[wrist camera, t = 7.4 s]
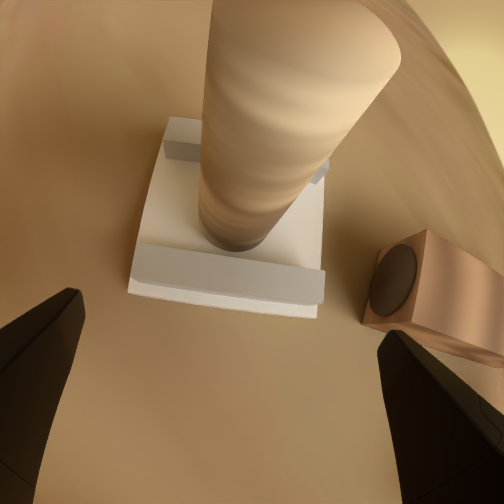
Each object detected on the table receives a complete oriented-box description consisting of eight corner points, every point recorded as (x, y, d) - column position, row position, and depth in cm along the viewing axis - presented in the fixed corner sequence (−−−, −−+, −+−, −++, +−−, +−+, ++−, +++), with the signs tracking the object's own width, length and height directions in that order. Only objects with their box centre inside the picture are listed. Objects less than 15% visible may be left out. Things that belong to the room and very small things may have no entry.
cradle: (308, 318, 17) (331, 317, 14) (132, 294, 16) (117, 287, 13) (317, 164, 20) (336, 139, 17) (167, 137, 18) (164, 107, 15)
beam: (505, 314, 20) (546, 308, 16) (496, 368, 19) (538, 368, 14) (375, 248, 19) (423, 226, 14) (357, 323, 18) (406, 320, 13)
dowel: (282, 203, 17) (406, 28, 5) (252, 265, 16) (387, 119, 4) (219, 171, 17) (263, -37, 5) (184, 230, 16) (170, 22, 4)
